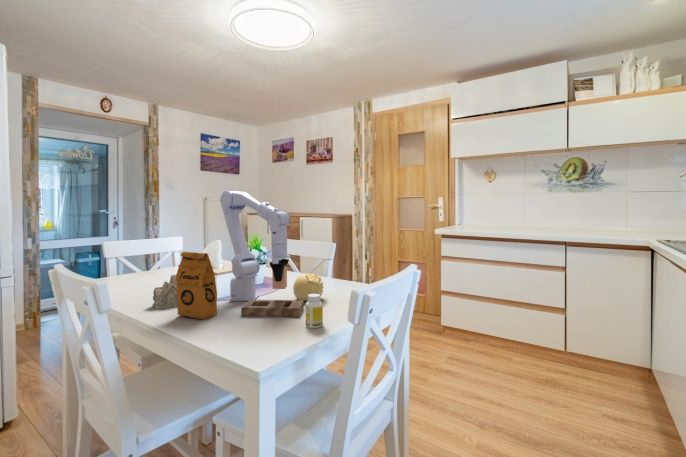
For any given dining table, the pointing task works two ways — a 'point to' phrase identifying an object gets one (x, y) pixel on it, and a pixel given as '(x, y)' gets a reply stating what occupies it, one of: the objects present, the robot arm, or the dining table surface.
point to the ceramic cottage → (166, 294)
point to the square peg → (283, 282)
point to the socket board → (273, 308)
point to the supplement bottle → (314, 311)
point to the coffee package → (196, 286)
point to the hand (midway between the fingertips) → (279, 279)
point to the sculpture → (307, 286)
